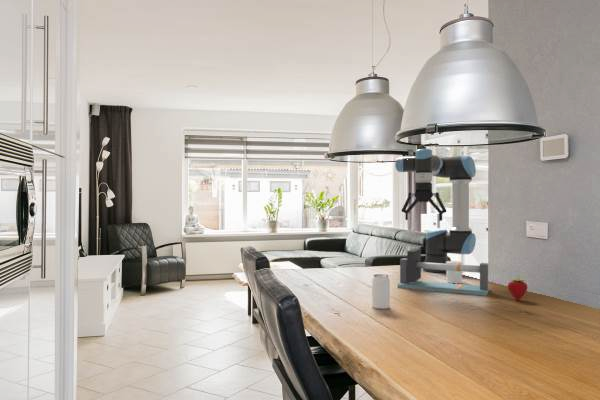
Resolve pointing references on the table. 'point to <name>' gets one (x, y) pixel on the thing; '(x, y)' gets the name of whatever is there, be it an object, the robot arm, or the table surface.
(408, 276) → the dark grey square plate
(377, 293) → the can
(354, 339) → the table surface
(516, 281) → the strawberry
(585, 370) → the table surface
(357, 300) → the table surface
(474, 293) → the pipe stand
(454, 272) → the white cup
